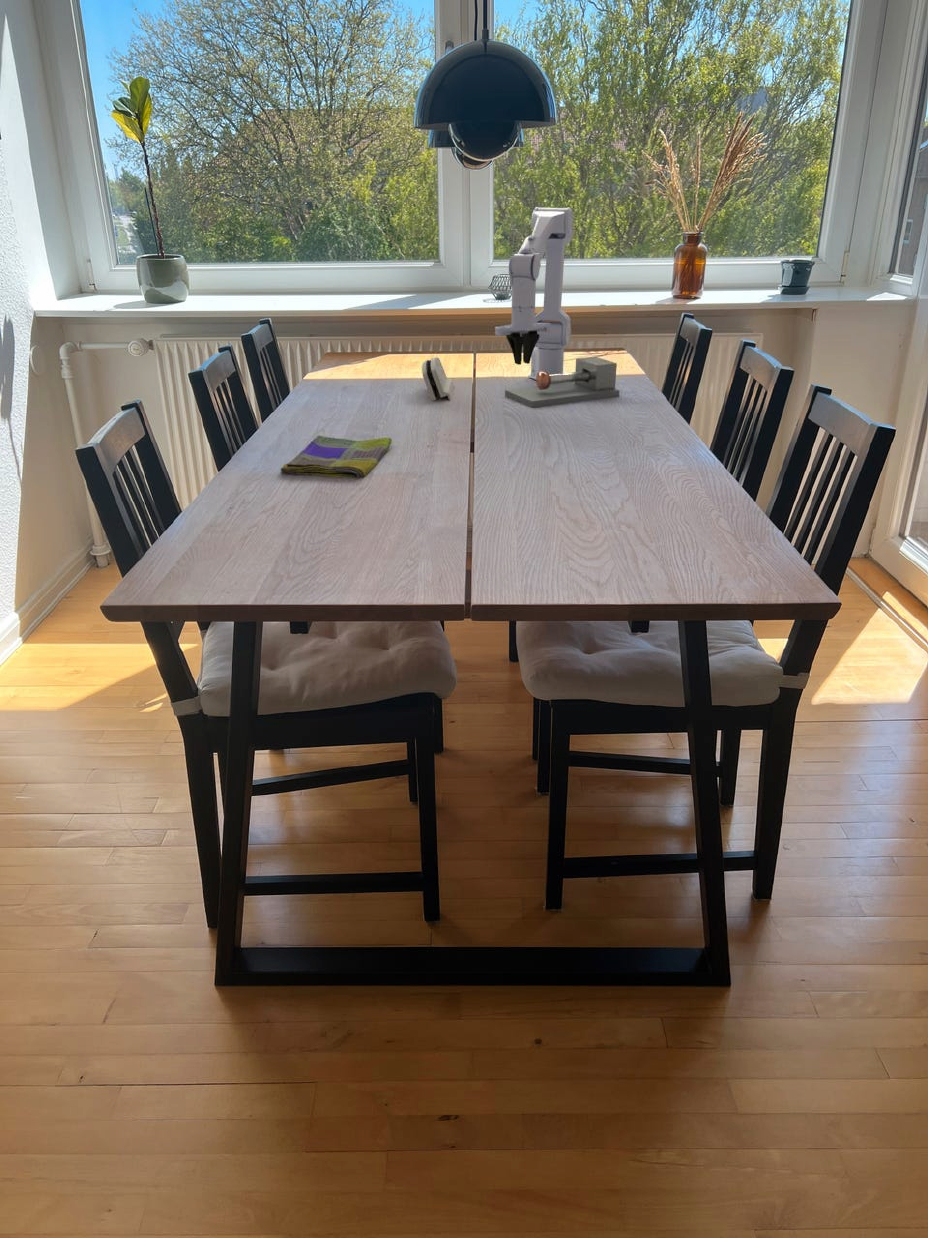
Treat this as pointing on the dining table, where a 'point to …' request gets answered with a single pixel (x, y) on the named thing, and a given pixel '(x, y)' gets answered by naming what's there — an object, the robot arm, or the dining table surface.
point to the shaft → (559, 378)
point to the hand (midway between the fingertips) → (522, 363)
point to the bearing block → (597, 373)
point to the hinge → (436, 379)
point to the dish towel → (339, 457)
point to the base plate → (557, 394)
